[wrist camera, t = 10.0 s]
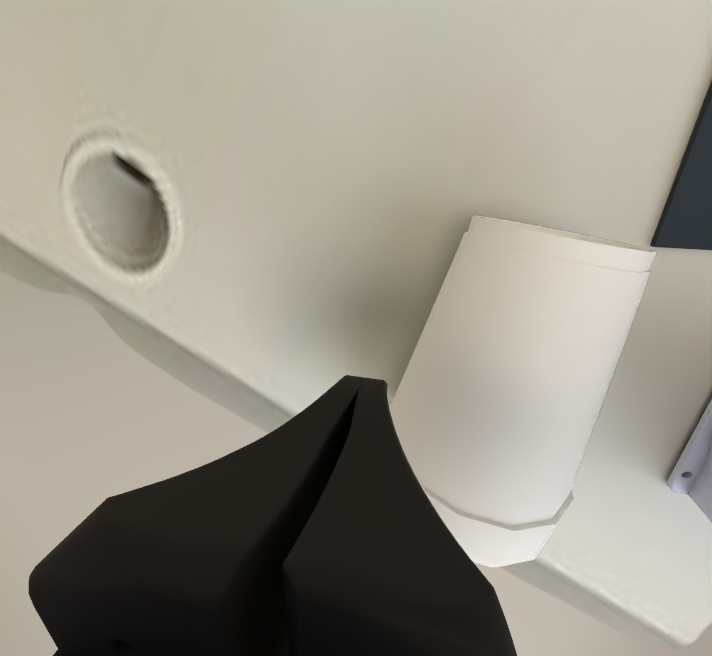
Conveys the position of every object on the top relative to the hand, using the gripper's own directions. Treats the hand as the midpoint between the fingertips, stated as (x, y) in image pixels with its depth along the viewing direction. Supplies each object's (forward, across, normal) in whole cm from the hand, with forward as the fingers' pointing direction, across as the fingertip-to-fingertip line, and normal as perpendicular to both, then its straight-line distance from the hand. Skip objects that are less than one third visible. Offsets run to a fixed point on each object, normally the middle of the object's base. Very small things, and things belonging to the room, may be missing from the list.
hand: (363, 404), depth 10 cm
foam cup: (+6, -6, -5) cm, 10 cm away
